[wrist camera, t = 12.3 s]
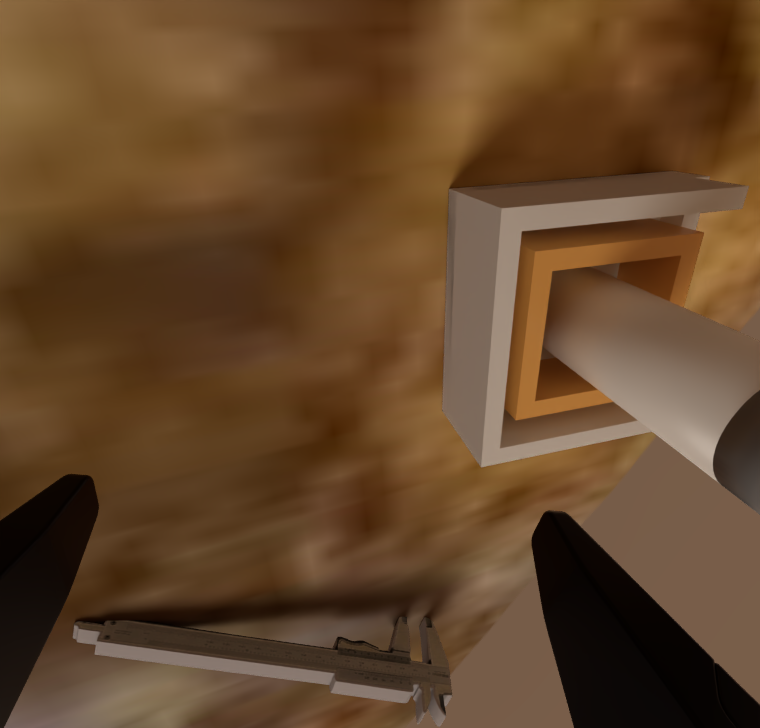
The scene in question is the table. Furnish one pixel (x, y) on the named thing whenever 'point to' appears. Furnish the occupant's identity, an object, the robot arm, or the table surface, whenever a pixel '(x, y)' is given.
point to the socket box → (531, 294)
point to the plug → (664, 371)
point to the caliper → (292, 659)
